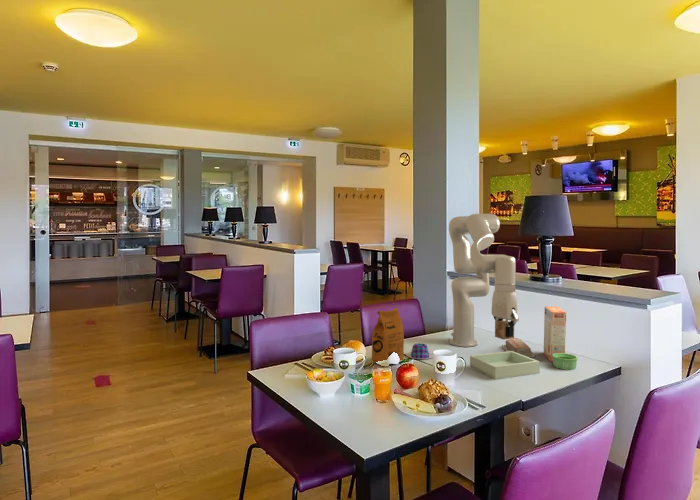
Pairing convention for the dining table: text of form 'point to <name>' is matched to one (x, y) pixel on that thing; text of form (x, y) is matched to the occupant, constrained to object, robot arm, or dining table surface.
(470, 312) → the robot arm
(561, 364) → the ramekin
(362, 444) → the dining table surface
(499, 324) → the walnut block
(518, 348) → the packaged product
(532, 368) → the bin
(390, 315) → the coffee package
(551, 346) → the cracker box
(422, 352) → the purple plaid hat
